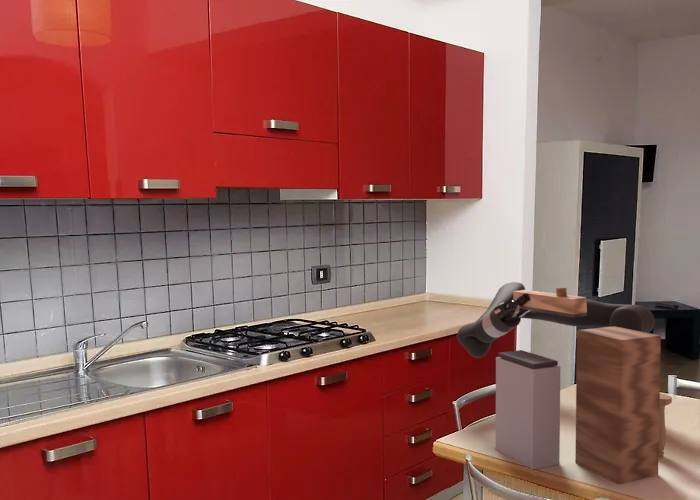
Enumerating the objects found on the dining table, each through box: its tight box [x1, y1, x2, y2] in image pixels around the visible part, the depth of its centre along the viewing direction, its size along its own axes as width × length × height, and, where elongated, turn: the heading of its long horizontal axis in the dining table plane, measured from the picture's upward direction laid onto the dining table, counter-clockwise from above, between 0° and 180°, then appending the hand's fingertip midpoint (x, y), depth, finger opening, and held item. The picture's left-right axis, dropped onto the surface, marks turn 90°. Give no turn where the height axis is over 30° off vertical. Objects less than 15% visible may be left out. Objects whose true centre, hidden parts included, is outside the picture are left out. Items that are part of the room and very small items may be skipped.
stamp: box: [513, 286, 587, 318], centre depth 151 cm, size 4×22×6 cm, turn 23°
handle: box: [659, 393, 673, 459], centre depth 146 cm, size 5×6×15 cm
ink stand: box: [495, 350, 561, 470], centre depth 147 cm, size 8×14×25 cm, turn 23°
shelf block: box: [574, 326, 662, 485], centre depth 139 cm, size 12×13×32 cm
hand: (534, 295), depth 155 cm, fingers closed on stamp, 4 cm apart
